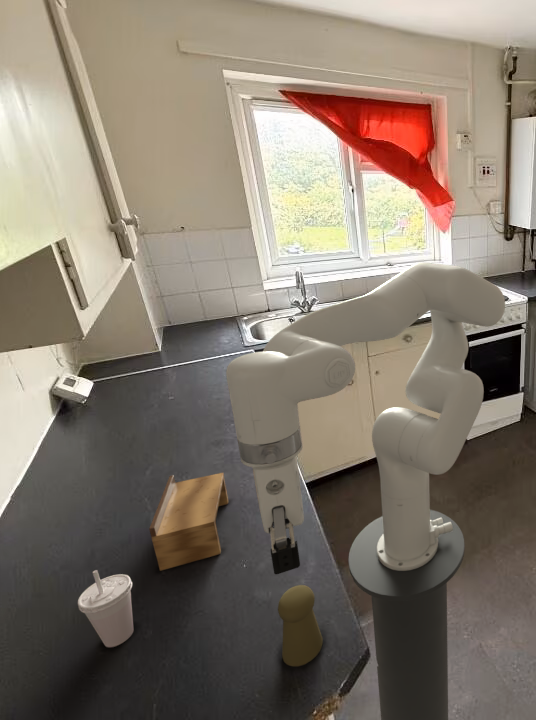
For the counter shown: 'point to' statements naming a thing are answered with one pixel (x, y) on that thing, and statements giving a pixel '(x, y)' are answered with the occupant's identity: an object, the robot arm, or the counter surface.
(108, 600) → the smoothie
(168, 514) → the spice shelf
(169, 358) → the counter surface
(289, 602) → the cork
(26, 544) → the counter surface
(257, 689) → the counter surface
